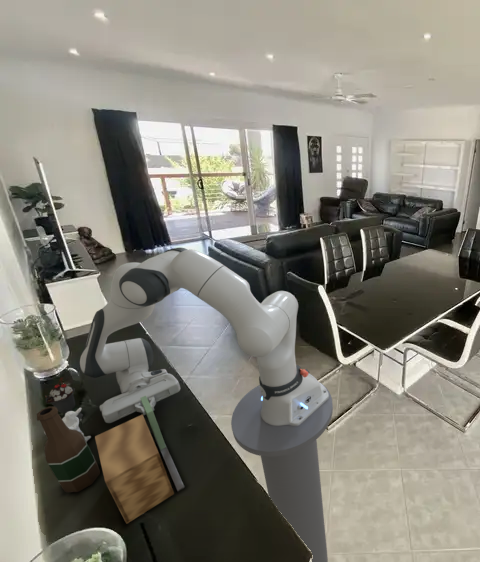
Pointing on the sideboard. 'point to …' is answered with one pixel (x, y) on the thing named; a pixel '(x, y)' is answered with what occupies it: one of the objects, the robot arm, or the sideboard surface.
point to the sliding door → (153, 422)
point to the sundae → (62, 398)
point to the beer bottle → (67, 453)
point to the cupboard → (135, 468)
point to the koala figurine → (73, 422)
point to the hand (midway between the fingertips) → (148, 411)
